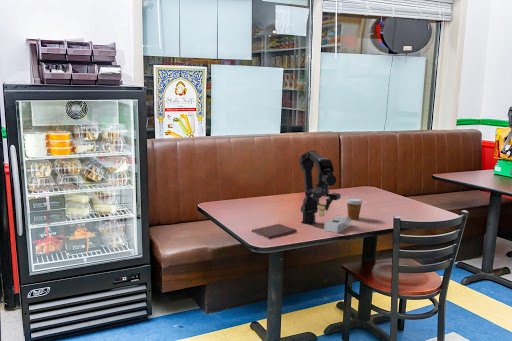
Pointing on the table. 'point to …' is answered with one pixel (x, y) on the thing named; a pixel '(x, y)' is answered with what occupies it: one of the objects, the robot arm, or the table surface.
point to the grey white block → (337, 224)
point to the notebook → (274, 231)
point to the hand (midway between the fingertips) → (322, 209)
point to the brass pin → (321, 208)
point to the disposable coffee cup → (354, 208)
